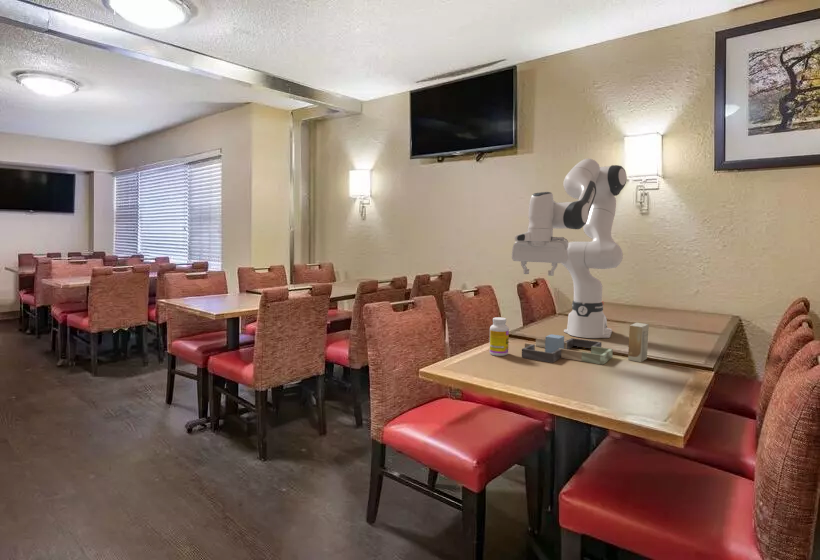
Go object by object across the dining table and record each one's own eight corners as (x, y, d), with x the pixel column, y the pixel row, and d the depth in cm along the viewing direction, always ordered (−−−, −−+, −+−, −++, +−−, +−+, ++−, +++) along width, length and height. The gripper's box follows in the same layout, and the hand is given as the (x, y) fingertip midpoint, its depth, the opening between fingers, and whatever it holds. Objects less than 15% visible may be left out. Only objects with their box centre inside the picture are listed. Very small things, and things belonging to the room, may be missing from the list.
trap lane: (544, 341, 189) (545, 334, 189) (618, 352, 173) (618, 344, 172) (514, 356, 168) (515, 347, 168) (595, 370, 151) (596, 361, 151)
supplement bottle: (508, 356, 167) (509, 320, 166) (489, 355, 169) (489, 319, 167) (508, 352, 174) (509, 317, 172) (489, 351, 175) (490, 316, 174)
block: (550, 350, 177) (550, 334, 176) (563, 352, 174) (564, 336, 173) (545, 353, 173) (545, 336, 172) (558, 355, 170) (559, 338, 169)
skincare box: (634, 356, 168) (636, 322, 166) (647, 359, 164) (649, 323, 163) (627, 360, 163) (628, 324, 162) (640, 362, 160) (642, 326, 159)
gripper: (571, 237, 171) (569, 276, 172) (517, 236, 183) (516, 272, 184) (565, 237, 166) (563, 276, 167) (510, 236, 178) (509, 273, 179)
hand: (538, 274), depth 176 cm, fingers open, 8 cm apart
